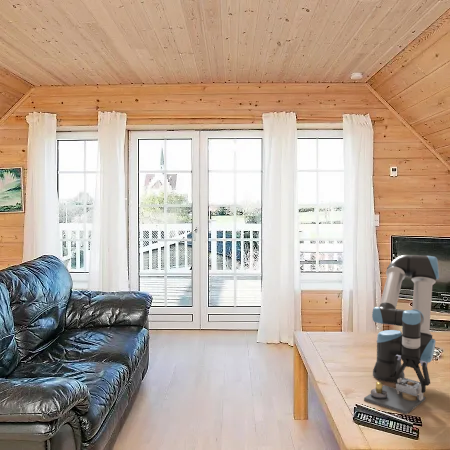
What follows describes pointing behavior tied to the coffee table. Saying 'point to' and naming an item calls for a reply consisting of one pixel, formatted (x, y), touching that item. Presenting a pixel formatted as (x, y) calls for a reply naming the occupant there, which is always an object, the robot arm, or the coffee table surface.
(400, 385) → the square hole frame
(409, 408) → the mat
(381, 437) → the coffee table surface
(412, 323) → the robot arm
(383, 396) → the cylinder
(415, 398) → the stand
